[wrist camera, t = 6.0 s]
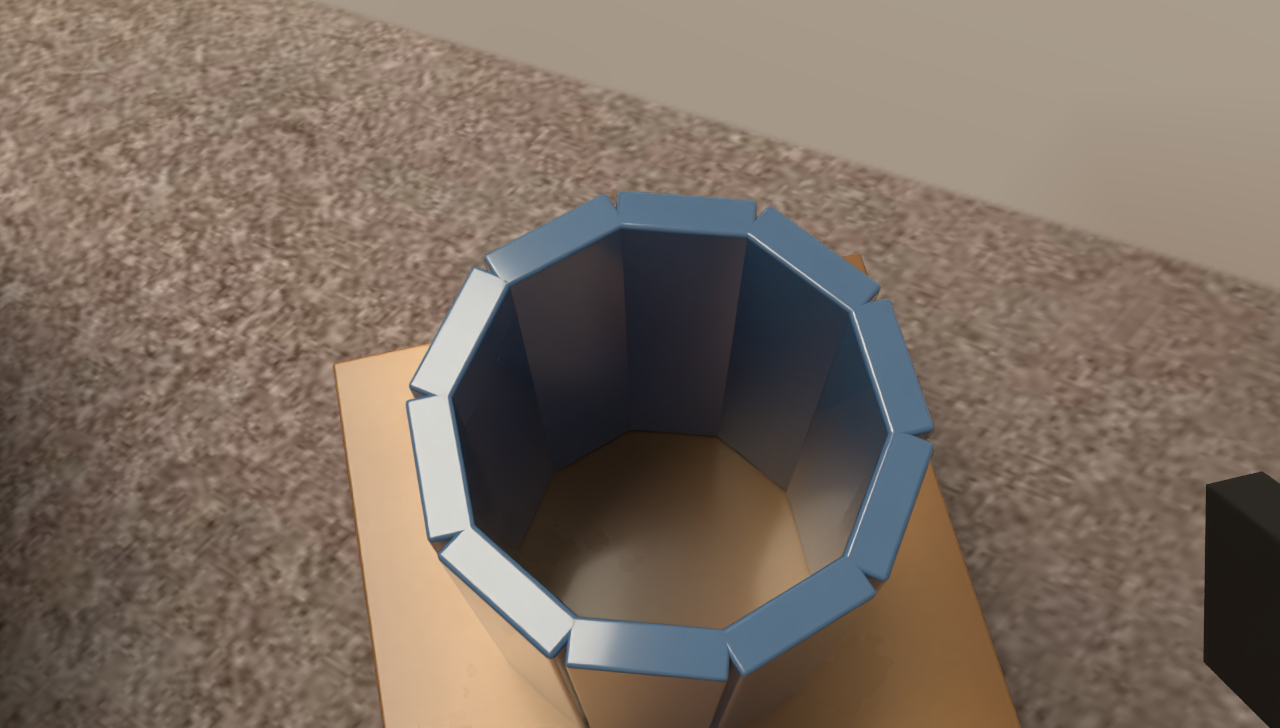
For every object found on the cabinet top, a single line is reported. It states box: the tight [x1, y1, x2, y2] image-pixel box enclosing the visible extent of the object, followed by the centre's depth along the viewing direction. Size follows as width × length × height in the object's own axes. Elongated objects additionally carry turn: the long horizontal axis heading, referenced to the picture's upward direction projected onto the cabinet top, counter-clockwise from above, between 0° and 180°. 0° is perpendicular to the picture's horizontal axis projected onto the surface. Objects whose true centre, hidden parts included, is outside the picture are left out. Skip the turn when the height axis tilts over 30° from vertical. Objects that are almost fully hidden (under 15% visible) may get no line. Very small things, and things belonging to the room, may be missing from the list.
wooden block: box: [333, 254, 1021, 728], centre depth 24 cm, size 11×11×4 cm
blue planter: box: [405, 191, 934, 728], centre depth 19 cm, size 6×7×8 cm
